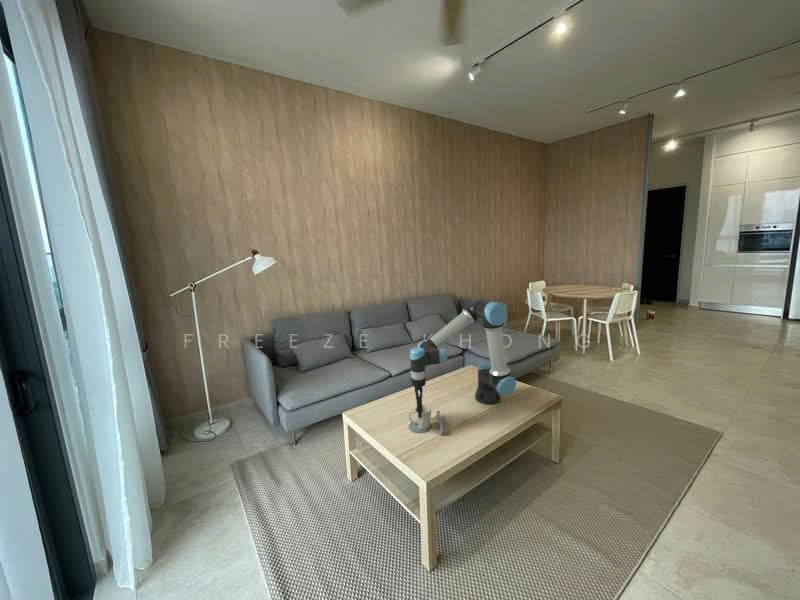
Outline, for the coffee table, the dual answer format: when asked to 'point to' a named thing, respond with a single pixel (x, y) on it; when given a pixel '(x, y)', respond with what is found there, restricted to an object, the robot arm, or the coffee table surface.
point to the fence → (440, 423)
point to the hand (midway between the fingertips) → (419, 416)
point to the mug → (426, 417)
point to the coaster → (417, 428)
